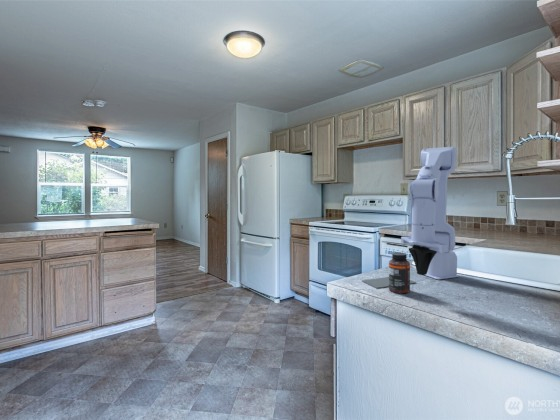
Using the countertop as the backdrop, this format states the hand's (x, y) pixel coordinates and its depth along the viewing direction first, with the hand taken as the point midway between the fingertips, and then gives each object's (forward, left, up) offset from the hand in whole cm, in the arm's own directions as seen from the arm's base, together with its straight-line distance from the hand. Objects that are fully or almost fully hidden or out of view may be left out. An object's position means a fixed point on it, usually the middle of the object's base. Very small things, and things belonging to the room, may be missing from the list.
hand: (422, 274), depth 85 cm
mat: (-2, -17, -7) cm, 19 cm away
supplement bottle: (0, -9, -8) cm, 12 cm away
